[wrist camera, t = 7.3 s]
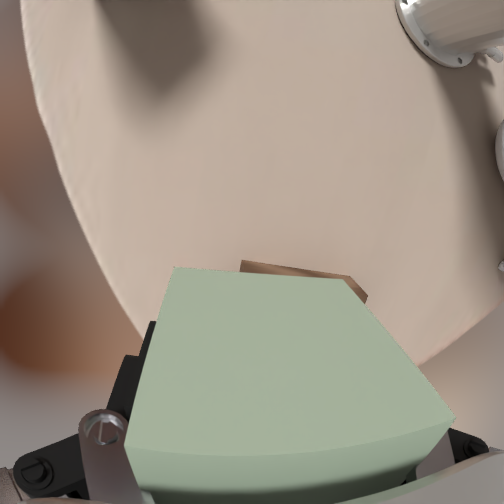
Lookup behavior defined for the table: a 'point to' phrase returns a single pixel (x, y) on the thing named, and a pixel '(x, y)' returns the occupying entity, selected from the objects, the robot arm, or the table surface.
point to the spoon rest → (500, 162)
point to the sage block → (275, 395)
